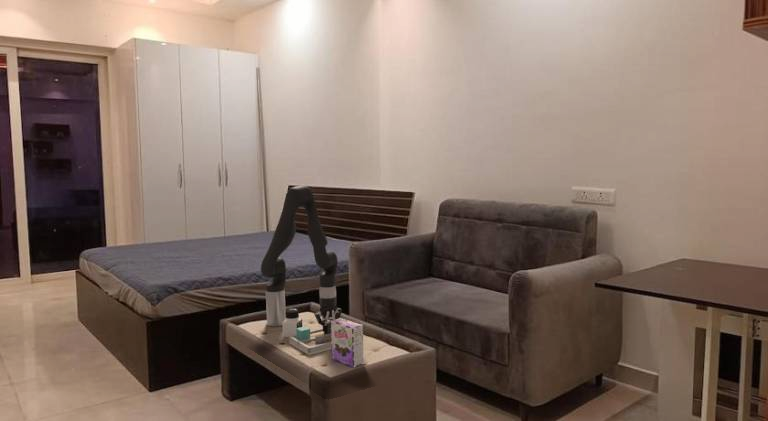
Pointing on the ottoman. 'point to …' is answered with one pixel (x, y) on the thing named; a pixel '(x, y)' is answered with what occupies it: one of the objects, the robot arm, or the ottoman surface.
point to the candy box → (347, 342)
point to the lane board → (306, 348)
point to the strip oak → (321, 332)
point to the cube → (303, 333)
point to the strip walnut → (318, 344)
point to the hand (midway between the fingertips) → (328, 332)
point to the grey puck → (319, 339)
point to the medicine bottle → (291, 322)
